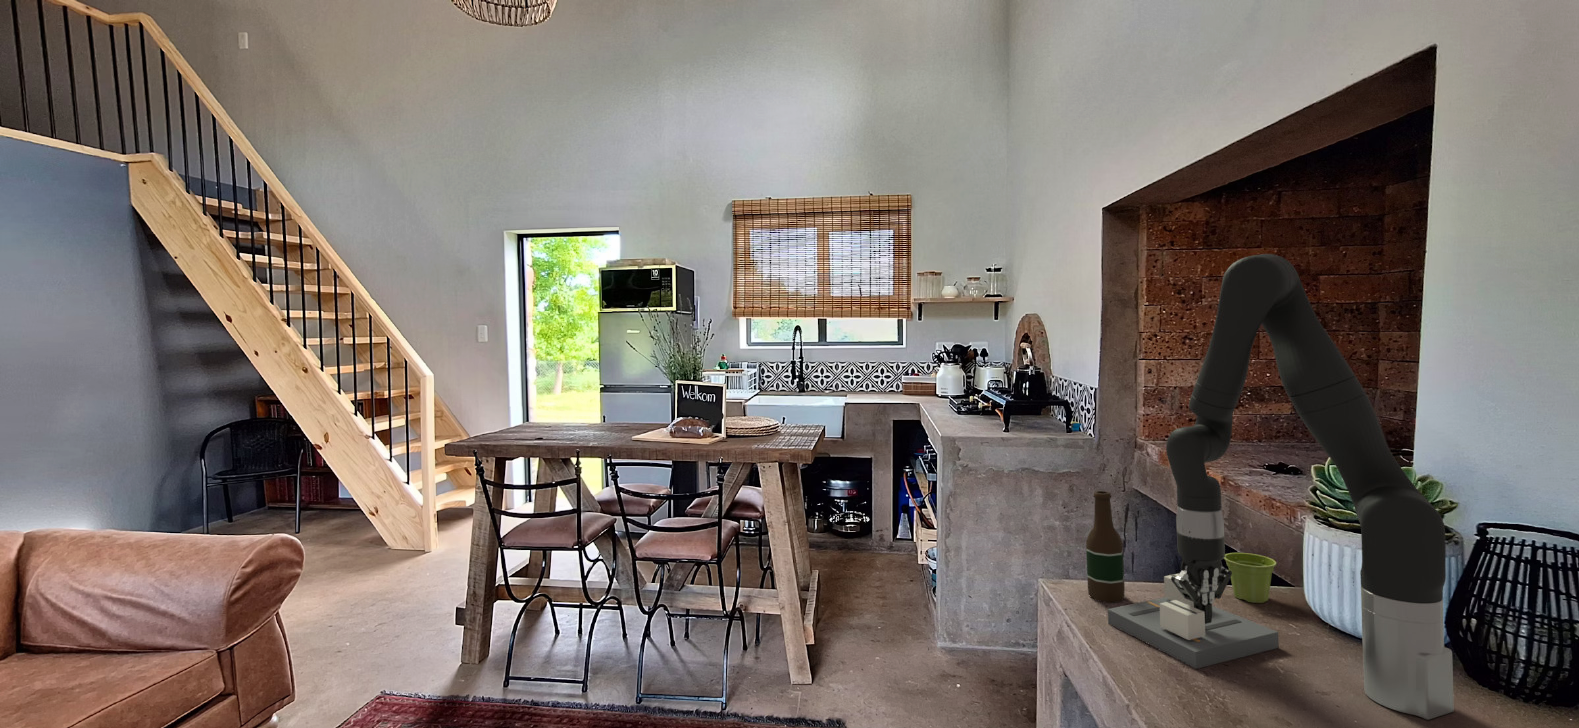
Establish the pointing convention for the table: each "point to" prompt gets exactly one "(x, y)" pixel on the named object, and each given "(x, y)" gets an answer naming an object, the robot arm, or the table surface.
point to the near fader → (1182, 619)
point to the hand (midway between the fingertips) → (1203, 621)
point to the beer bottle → (1104, 554)
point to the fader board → (1218, 645)
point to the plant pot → (1250, 576)
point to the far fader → (1174, 591)
